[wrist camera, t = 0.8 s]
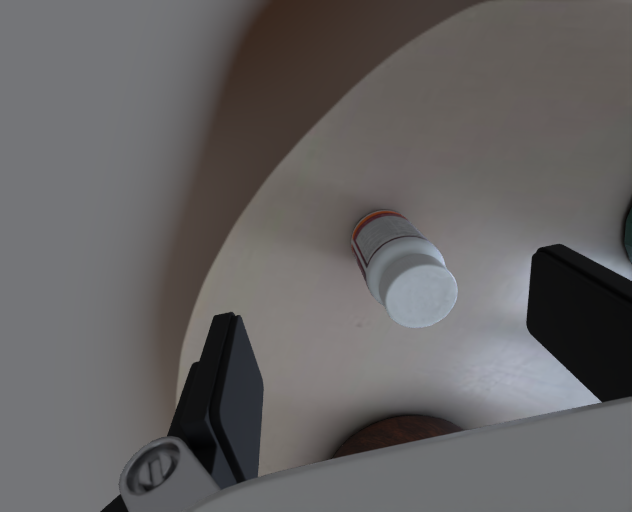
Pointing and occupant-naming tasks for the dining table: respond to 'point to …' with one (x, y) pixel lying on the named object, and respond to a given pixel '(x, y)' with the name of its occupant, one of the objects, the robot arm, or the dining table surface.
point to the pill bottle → (403, 269)
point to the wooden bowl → (396, 433)
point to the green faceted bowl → (629, 236)
